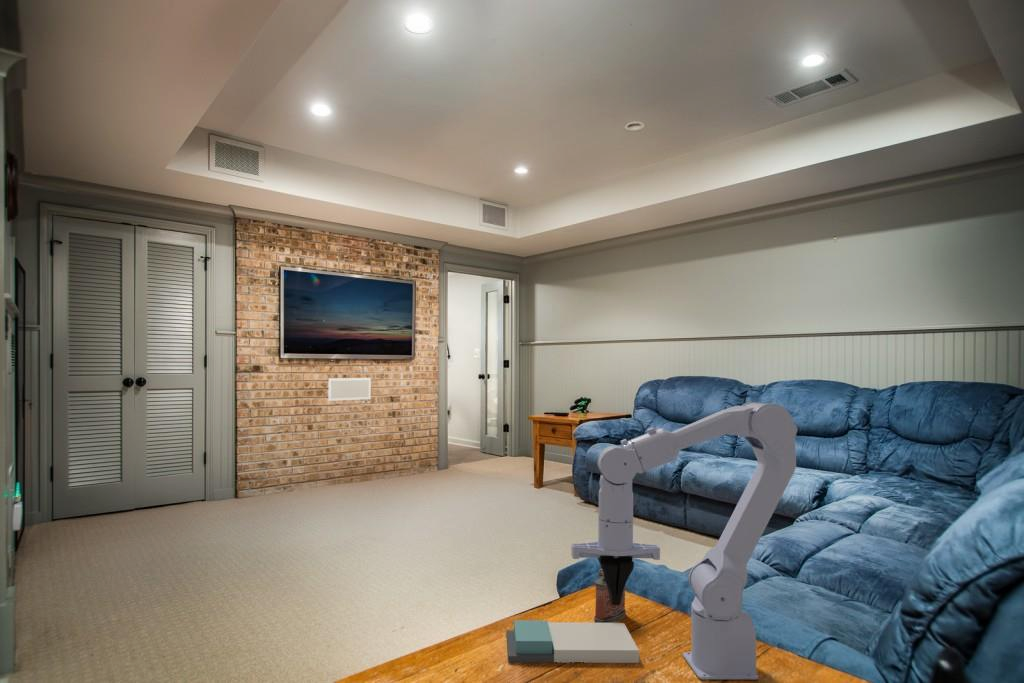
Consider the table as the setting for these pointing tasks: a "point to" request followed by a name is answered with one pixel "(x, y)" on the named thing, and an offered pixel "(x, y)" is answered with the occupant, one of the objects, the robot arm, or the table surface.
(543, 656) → the mat
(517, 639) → the tile
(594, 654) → the plinth
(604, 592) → the lighter
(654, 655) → the table surface
